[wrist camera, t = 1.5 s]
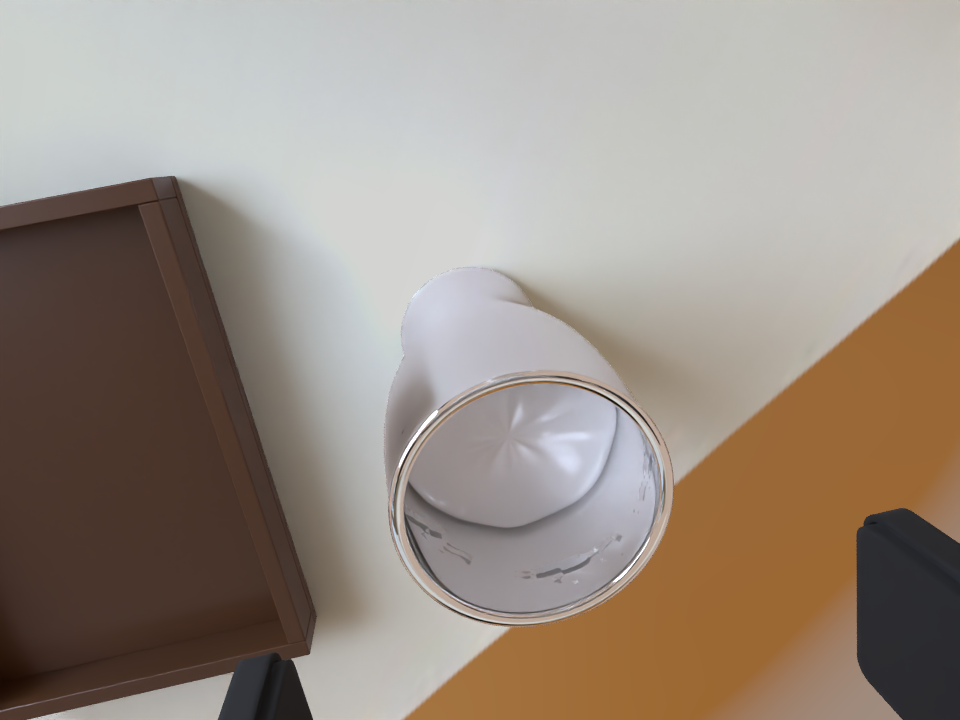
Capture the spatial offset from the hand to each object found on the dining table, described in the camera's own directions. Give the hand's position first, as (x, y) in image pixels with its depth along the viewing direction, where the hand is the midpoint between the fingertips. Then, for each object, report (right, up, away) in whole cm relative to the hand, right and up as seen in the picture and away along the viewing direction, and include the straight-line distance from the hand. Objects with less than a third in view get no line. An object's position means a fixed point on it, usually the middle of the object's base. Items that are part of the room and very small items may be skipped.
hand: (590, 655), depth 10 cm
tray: (-20, 0, +18) cm, 27 cm away
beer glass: (-2, +6, +19) cm, 20 cm away
